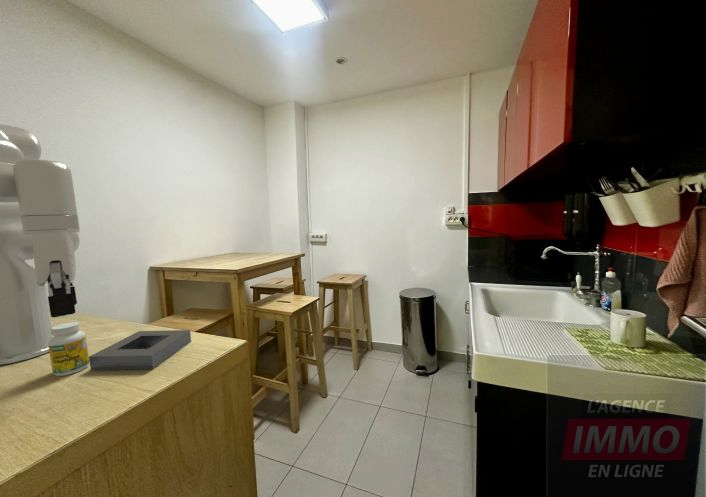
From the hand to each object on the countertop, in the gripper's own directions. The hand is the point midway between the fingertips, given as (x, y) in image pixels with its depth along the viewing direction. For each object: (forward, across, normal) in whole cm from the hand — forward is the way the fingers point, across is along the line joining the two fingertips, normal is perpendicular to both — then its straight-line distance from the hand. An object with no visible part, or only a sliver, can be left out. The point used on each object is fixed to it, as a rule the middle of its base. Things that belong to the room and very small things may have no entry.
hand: (65, 310), depth 55 cm
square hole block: (+13, +3, +12) cm, 18 cm away
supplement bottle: (+13, -1, 0) cm, 13 cm away
